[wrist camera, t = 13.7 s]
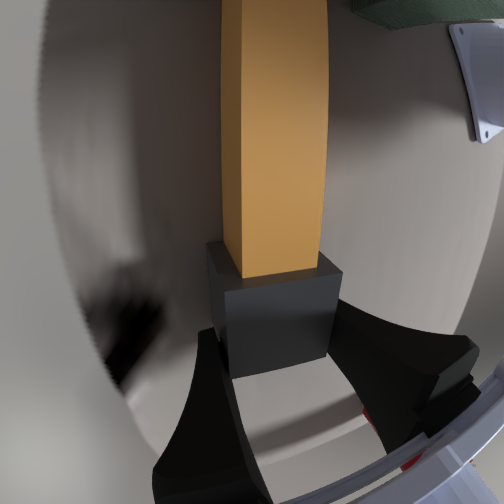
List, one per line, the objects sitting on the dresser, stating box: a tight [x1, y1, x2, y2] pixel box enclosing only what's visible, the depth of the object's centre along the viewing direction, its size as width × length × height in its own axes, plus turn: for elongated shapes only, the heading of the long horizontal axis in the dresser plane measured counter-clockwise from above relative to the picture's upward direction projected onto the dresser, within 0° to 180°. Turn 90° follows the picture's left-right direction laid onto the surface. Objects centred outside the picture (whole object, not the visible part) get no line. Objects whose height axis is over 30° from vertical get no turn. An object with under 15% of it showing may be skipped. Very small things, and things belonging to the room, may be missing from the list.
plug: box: [206, 0, 343, 379], centre depth 9 cm, size 19×4×4 cm, turn 179°
